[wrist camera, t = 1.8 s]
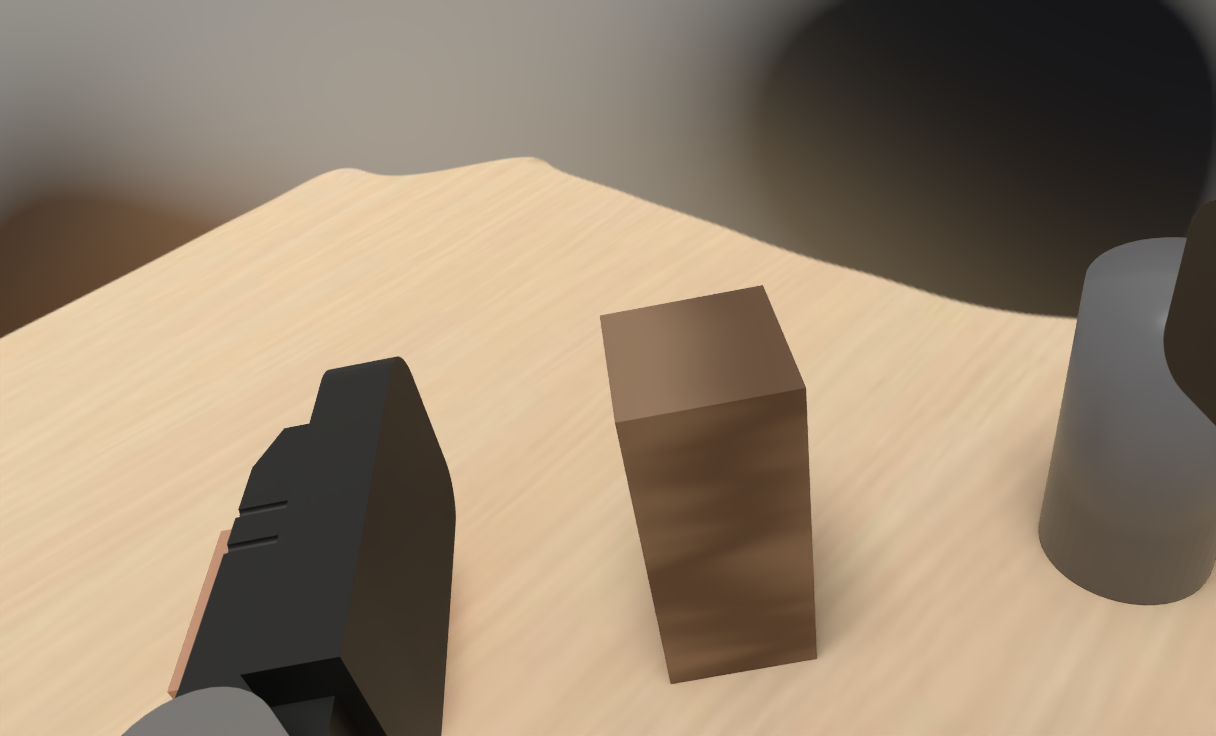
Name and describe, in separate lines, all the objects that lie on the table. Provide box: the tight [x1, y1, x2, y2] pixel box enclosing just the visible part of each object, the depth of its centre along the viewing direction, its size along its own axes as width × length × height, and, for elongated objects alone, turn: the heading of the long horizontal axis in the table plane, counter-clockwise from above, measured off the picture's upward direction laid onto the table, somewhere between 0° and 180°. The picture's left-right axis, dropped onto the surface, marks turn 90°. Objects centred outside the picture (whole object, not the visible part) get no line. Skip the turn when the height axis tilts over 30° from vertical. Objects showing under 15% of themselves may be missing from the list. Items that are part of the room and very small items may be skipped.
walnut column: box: [600, 285, 817, 684], centre depth 27 cm, size 5×5×11 cm
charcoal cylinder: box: [1039, 237, 1216, 605], centre depth 27 cm, size 5×5×10 cm
